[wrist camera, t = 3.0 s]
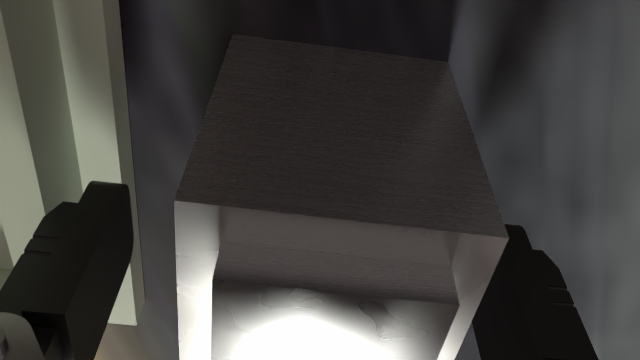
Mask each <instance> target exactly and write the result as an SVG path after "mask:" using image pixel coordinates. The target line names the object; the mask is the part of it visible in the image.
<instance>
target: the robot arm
mask: <svg viewBox="0 0 640 360" xmlns="http://www.w3.org/2000/svg"><path fill="white" fill-rule="evenodd" d="M504 225H505V228H506V231H507V233H508V236H509V240H508V242H507V244H506V246H505V248H504V251H503V253H502V255H501V257H500V259H499V262H498V264H497V266H496V268H495V271H494V273H493V275H492V277H491V279H490V282H489V284H488V286H487V288H486V290H485V293H484V295H483V297H482V299H481V302H480V304H479V306H478V308H477V310H476V313H475V315H474V317H473V319H472V324H473V328H474V332H475V336H476V340H477V345H478V349H479V353H480V357H481V360H598V358H597V355H596V353H595V351H594V348H593V346H592V344H591V341H590V339H589V337H588V335H587V332H586V330H585V328H584V325H583V323H582V321H581V318H580V316H579V314H578V311H577V309H576V307H574V306H573V304H574V302H573V300H572V298H571V295H570V293H569V291H567V286H566V284H565V282H564V279H563V277H562V275H561V272H560V270H559V268H558V267H557V266H556V265H555V264H554V263H553V261H552V260H551V259H550V258H549V257H548V256H547V255H546V254H545V253H544V252H543V251H542V250H533V249H532V247H531V244H530V242H529V239H528V237H527V234H526V232H525V230H524V228H523V227H522V226H518V225H508V224H504ZM133 244H134V232H133V222H132V211H131V201H130V192H129V187H128V185H127V184H121V183H112V182H102V181H90V182H89V184H88V185H87V187H86V189H85V191H84V193H83V195H82V196H81V198H80V200H79V202H78V203H74V202H64V201H63V202H62V203H60V204H59V205H58V206H57V207H55V208H54V209H53V210H51V211H50V212H49V213H48V214H46V215H45V216H44V217H43V219H42V220H41V222H40V224H39V225H38V227H37V229H36V230H35V232H34V234H33V238H32V239H30V241H29V242H28V244H27V246H26V247H25V249H24V254H21V256H20V258H19V259H18V261H17V263H16V265H15V266H14V268H13V270H12V271H11V273H10V275H9V276H8V278H7V280H6V282H5V283H4V285H3V287H2V288H1V290H0V360H94V358H95V355H96V352H97V349H98V347H99V344H100V341H101V339H102V336H103V333H104V331H105V328H106V325H107V323H108V320H109V317H110V315H111V312H112V309H113V307H114V304H115V301H116V298H117V296H118V293H119V290H120V288H121V285H122V282H123V280H124V277H125V274H126V272H127V269H128V266H129V264H130V260H131V257H132V252H133Z"/></svg>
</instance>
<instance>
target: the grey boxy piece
mask: <svg viewBox="0 0 640 360" xmlns="http://www.w3.org/2000/svg"><path fill="white" fill-rule="evenodd" d="M174 214H175V243H176V272H177V300H178V329H179V357H180V360H454V359H455V357H456V355H457V352H458V350H459V348H460V346H461V344H462V341H463V339H464V337H465V335H466V333H467V330H468V328H469V326H470V324H471V321H472V319H473V317H474V315H475V313H476V310H477V308H478V306H479V304H480V302H481V299H482V297H483V295H484V293H485V290H486V288H487V286H488V284H489V282H490V279H491V277H492V275H493V273H494V271H495V268H496V266H497V264H498V262H499V259H500V257H501V255H502V253H503V251H504V248H505V246H506V244H507V242H508V240H509V236H508V233H507V231H506V228H505V225H504V222H503V219H502V216H501V213H500V210H499V207H498V205H497V202H496V199H495V196H494V193H493V190H492V187H491V184H490V181H489V178H488V176H487V173H486V170H485V167H484V164H483V161H482V158H481V155H480V152H479V150H478V147H477V144H476V141H475V138H474V135H473V132H472V129H471V126H470V124H469V121H468V118H467V115H466V112H465V109H464V106H463V103H462V100H461V98H460V95H459V92H458V89H457V86H456V83H455V80H454V77H453V74H452V72H451V69H450V66H449V63H448V62H446V61H438V60H430V59H423V58H415V57H407V56H399V55H392V54H384V53H376V52H369V51H361V50H353V49H345V48H338V47H330V46H322V45H315V44H307V43H299V42H291V41H284V40H276V39H268V38H261V37H253V36H245V35H237V34H233V35H232V38H231V40H230V43H229V46H228V49H227V52H226V55H225V57H224V60H223V63H222V66H221V69H220V72H219V74H218V77H217V80H216V83H215V86H214V89H213V91H212V94H211V97H210V100H209V103H208V106H207V108H206V111H205V114H204V117H203V120H202V123H201V125H200V128H199V131H198V134H197V137H196V140H195V142H194V145H193V148H192V151H191V154H190V157H189V160H188V162H187V165H186V168H185V171H184V174H183V177H182V179H181V182H180V185H179V188H178V191H177V194H176V196H175V199H174Z"/></svg>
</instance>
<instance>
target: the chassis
mask: <svg viewBox="0 0 640 360" xmlns="http://www.w3.org/2000/svg"><path fill="white" fill-rule="evenodd" d="M90 181H102V182H112V183H121V184H127V185H128V187H129V192H130V201H131V211H132V222H133V232H134V244H133V252H132V257H131V260H130V264H129V266H128V269H127V272H126V274H125V277H124V280H123V282H122V285H121V288H120V290H119V293H118V296H117V298H116V301H115V304H114V307H113V309H112V312H111V315H110V317H109V320H108V323H115V324H126V325H136V326H137V323H138V320H139V317H140V314H141V311H142V308H143V305H144V302H145V294H144V282H143V271H142V260H141V248H140V237H139V226H138V214H137V203H136V191H135V180H134V169H133V157H132V146H131V135H130V123H129V112H128V101H127V89H126V78H125V67H124V55H123V44H122V33H121V21H120V10H119V0H0V290H1V288H2V287H3V285H4V283H5V282H6V280H7V278H8V276H9V275H10V273H11V271H12V270H13V268H14V266H15V265H16V263H17V261H18V259H19V258H20V256H21V254H24V249H25V247H26V246H27V244H28V242H29V241H30V239H32V238H33V234H34V232H35V230H36V229H37V227H38V225H39V224H40V222H41V220H42V219H43V217H44V216H45V215H46V214H48V213H49V212H50V211H51V210H53V209H54V208H55V207H57V206H58V205H59V204H60V203H62V202H63V201H64V202H74V203H78V202H79V200H80V198H81V196H82V195H83V193H84V191H85V189H86V187H87V185H88V184H89V182H90Z"/></svg>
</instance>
